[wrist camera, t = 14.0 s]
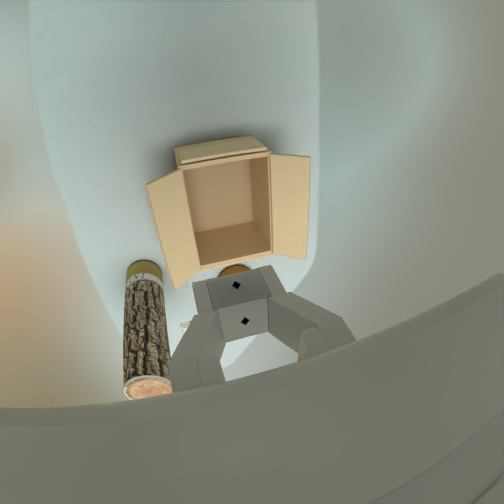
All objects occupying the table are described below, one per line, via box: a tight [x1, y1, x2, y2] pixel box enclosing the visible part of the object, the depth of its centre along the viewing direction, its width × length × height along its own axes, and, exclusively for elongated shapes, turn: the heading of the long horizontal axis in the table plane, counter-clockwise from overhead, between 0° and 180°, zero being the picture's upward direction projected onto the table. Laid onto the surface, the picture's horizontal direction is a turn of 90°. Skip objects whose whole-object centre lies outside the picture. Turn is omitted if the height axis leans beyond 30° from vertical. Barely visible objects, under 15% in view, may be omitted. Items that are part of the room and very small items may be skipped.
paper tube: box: [123, 261, 172, 400], centre depth 43 cm, size 7×7×25 cm
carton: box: [174, 135, 273, 271], centre depth 44 cm, size 17×12×10 cm
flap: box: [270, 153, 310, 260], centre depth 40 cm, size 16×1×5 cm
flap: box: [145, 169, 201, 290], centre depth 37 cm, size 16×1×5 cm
